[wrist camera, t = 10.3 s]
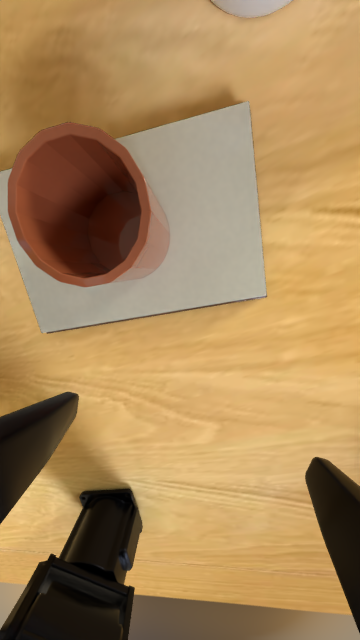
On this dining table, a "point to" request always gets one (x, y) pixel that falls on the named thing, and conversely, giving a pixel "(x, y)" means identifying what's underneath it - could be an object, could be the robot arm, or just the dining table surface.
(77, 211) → the pot
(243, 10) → the fruit juice
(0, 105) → the dining table surface
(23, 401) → the dining table surface
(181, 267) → the tile
